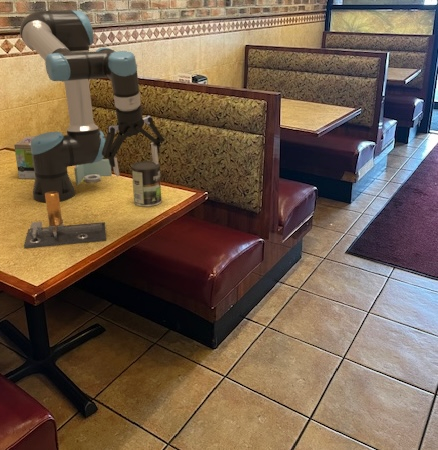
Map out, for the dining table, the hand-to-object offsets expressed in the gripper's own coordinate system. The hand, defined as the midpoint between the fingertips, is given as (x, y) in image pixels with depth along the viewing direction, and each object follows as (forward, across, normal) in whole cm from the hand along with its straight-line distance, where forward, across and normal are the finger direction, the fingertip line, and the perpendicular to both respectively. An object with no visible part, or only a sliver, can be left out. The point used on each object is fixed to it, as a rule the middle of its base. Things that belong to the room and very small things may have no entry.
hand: (136, 168), depth 160 cm
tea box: (+29, -21, +65) cm, 74 cm away
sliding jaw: (+14, -29, 0) cm, 32 cm away
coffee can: (+23, +7, +11) cm, 26 cm away
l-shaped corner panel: (+28, -2, +45) cm, 53 cm away
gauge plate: (+15, -27, -2) cm, 31 cm away
